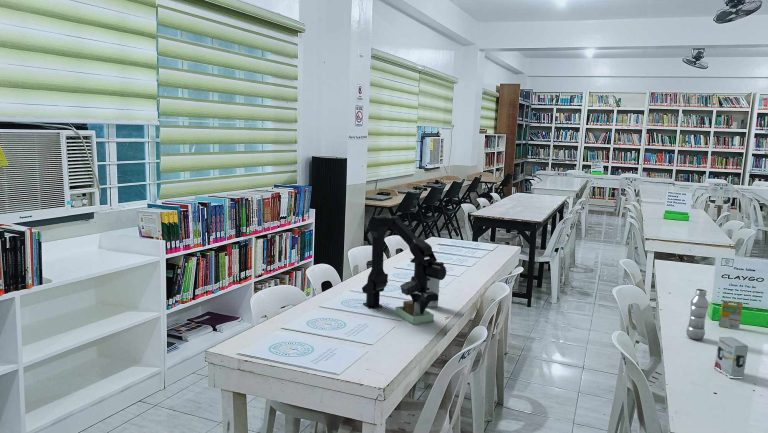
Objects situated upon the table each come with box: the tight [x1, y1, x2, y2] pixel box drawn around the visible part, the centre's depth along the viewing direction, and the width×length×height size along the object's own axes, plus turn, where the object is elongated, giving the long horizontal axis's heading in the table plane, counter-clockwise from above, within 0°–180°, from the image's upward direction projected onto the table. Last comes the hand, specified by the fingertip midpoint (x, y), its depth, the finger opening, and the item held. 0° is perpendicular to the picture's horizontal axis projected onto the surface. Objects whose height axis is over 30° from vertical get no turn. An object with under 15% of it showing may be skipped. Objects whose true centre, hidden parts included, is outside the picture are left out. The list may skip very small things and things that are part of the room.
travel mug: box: [426, 277, 441, 310], centre depth 252 cm, size 6×7×20 cm
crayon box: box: [718, 300, 744, 331], centre depth 244 cm, size 7×3×12 cm, turn 65°
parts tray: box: [394, 305, 435, 325], centre depth 238 cm, size 14×10×3 cm
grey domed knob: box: [413, 301, 424, 316], centre depth 234 cm, size 5×5×5 cm
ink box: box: [714, 336, 749, 378], centre depth 196 cm, size 9×5×12 cm, turn 5°
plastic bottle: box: [686, 288, 710, 341], centre depth 227 cm, size 6×7×20 cm
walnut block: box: [402, 300, 414, 315], centre depth 241 cm, size 4×4×5 cm
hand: (418, 312), depth 235 cm, fingers closed on grey domed knob, 4 cm apart
